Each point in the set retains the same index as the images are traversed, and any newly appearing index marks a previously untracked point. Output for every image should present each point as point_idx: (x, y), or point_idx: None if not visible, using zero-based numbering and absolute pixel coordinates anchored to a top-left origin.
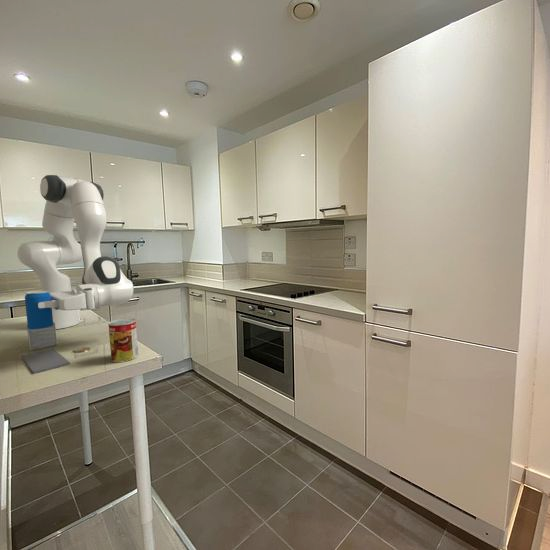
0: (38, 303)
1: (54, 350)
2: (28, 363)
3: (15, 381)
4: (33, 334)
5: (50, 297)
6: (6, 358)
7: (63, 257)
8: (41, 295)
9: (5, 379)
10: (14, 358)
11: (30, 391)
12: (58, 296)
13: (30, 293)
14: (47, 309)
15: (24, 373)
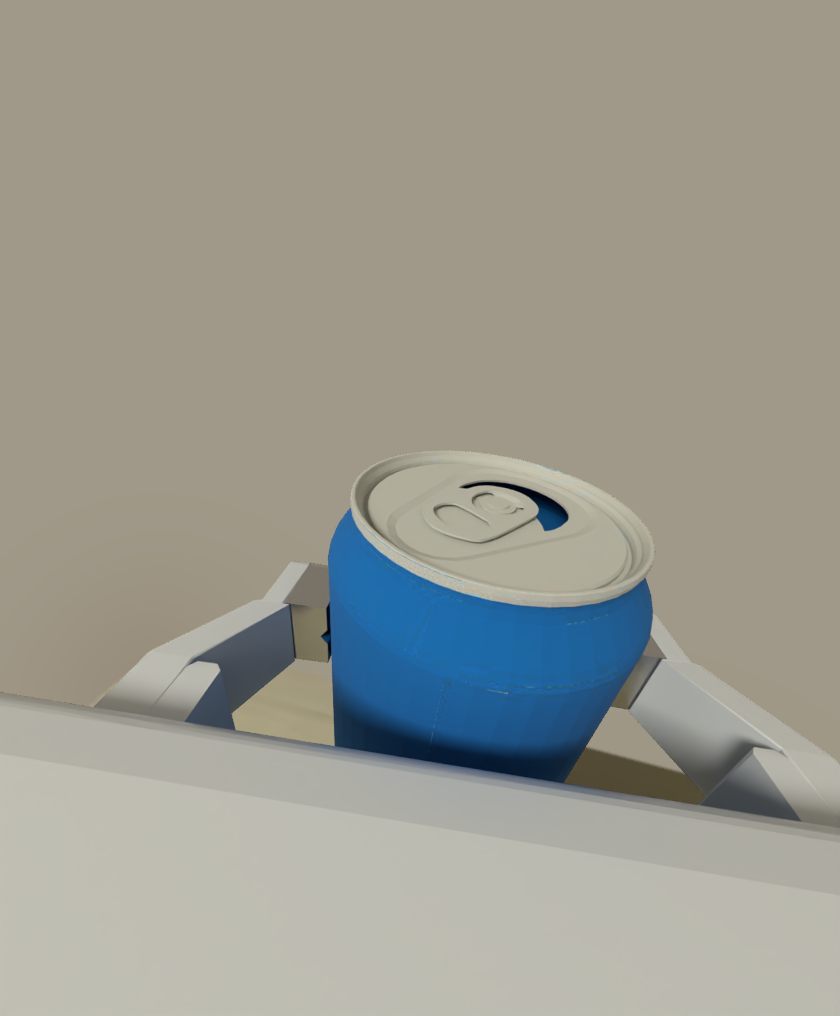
0: (297, 563)
1: None
2: None
3: (262, 691)
4: None
5: (403, 694)
6: (600, 757)
7: None
8: (339, 524)
9: (320, 679)
10: (578, 782)
11: (109, 689)
12: (190, 810)
13: (412, 455)
14: (334, 719)
15: (311, 738)
